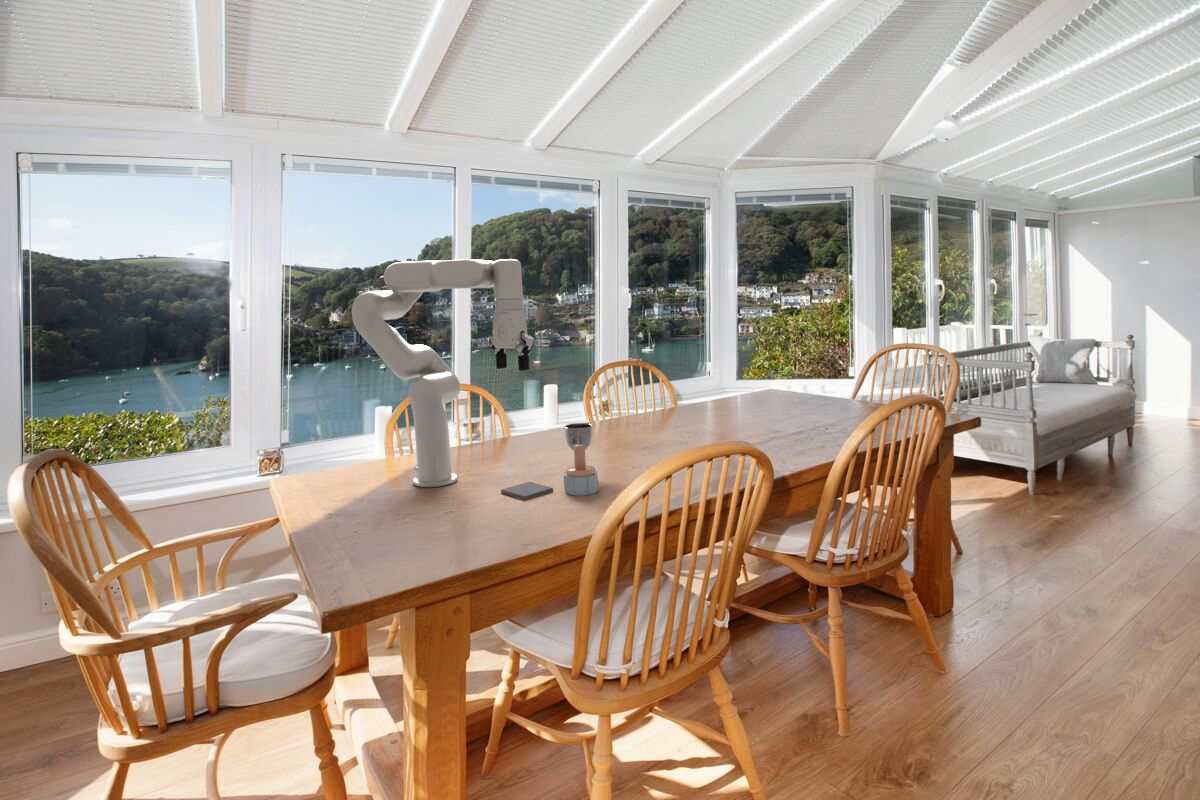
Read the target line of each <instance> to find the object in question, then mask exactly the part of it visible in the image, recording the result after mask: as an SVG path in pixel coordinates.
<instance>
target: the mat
mask: <svg viewBox="0 0 1200 800" xmlns="http://www.w3.org/2000/svg"><path fill="white" fill-rule="evenodd" d="M500 492H501V494H504V495H506V496H510V497H514V498H515V499H519V500H522V501H526V500H529V499H533V498H537V497H539V496H543V495H546V494H549V493H552V492H554V488H553V487H552V486H551V487H550V486H549V485H543V484H540V483H535V482H533V481H532V482H531V481H527V482H524V483H520V484H516V485H513V486H509V487H506V488H503V489H501V490H500Z"/></svg>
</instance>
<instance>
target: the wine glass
mask: <svg viewBox="0 0 1200 800" xmlns="http://www.w3.org/2000/svg"><path fill="white" fill-rule="evenodd" d="M564 435H565V440H566V443H567V446H568V447H569V449H570V450H571V451H572V452H574V445H577V444H583V445H585V451H586V450H587V449H589V446H590V445H591V442H592V437H593V426H592V424H590V423H586V422H584V423H583V422H575V423H569V424H566V425H564Z"/></svg>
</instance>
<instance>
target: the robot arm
mask: <svg viewBox="0 0 1200 800" xmlns="http://www.w3.org/2000/svg"><path fill="white" fill-rule="evenodd" d="M383 280H384V283H385V285H386V286H387V288H388V289H389V290H371V291H369V290H368V291H367V292H362V293H361V294H359V295H357V296H356V298H354V301H353V303H352V305H351V318H352V323H353V324H354V327H355V330H356V331H357V332H358V334H359V335H360V336H361V338H363V339H364V340H365V342H367V344H368V345H370V347H371V348H372V349H373V351H375V352H376V354H377V356H378V357H379V358H380V359H381V360H382V361H383V363H384V364H385V365H386V366H387V367H388V369H389V370H391V372H392V373H393V374H394V375H395V376H396V377H397V378H398V379H401V380H411V379H413V381H412V382H411V383H410V385H409V388H408V400H409V403H410V407H411V411H412V417H413V424H414V425H413V427H414V437H415V438H414V439H415V448H416V449H415V450H416V461H417V466H414V471H415V472H417V476H416V477H414V478H413V480H412V481H413V485H415V486H416V487H421V488H435V487H443V486H448V485H451V484H453V483H455V482H457V481H458V475H457V474H455V473H453V472H452V461H451V448H450V447H451V444H450V431H449V430H450V429H449V420H448V415H447V413H446V410H445V407H444V405H445V404H448V403H450V402H452V401H455V400H456V399H457V398H458V397H459V395H460V392H461V383H460V381H459V378H458V377H457V375H456V374H455V373H454V372H453V371H452V369H451V367H449V366H448V365H447V363H446V362H445V361H444V360H443V359H442V357H441V356H440V355H439V354H438V352H436V350H434V349H433V348H432V347H430V346H427V345H424V344H409V343H408V342H407V341H406V340H405V339H404V338H403V336H402V335H401V334H400V333H399V332H398V330H397V329H395V328H394V326H393V327H392V326H391V325H390V324H388V323H387V322H386V321H388V320H389V321H391V320H398V319H400V318H402V317H403V316H405V315H406V314H407V313H408V312H409V311H410V309H411V308H412V307H413V305H415V303H417V301H418V300H419V299H420V298H421V296H422V295H423V293H428V292H429V293H430V292H441V291H442V290H451V289H456V290H457V289H491V288H493V289H494V290H493V292H494V305H495V306H494V307H495V308H494V309H495V311H494V312H493V318H492V320H493V321H492V336H491V337H490V339H489V340H490V342H491V345H492V346H491V347H492V349H493V350H494V351H493V352H494V355H495V363H496V369H498V370H500V369H506V368H508V363H507V362H508V361H507V353H505V352H506V351H507V350H509V349H510V350H512V349H516V351H517V353H518V354H519V355H517V360H518V361H517V363H518V365H517V367H518V371H521V372H522V371H528V370H530V359H529V358H530V357H529V356H530V354H531V351H532V349H533V343H534V339H533V337H531V336H530V335H529V334H528V326H527V319H526V315H525V311H524V293H523V291H524V290H523V276H522V263H521V262H520V260H518V259H513V258H508V259H507V258H506V259H504V258H503V259H497V260H495V261H493V260H485V259H470V258H469V259H448V260H434V259H433V260H421V261H420V260H417V261H416V260H415V261H401V262H400V261H399V262H394V263H392V264H390V265H388V266H387V267H386V268H385V270H384V273H383Z"/></svg>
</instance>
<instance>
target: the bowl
mask: <svg viewBox="0 0 1200 800" xmlns="http://www.w3.org/2000/svg"><path fill="white" fill-rule="evenodd" d="M598 479H599V477H598V471H597V470H595V474H594V475H591V476H587V477H570V476H567V475H566V471H564V473H563V482H564V485H563V487H564V493H565V494H566V495H568V496H572V497H584V496H585V497H586V496H592V495H594V494H597V493H598V492H599V484H598V483H599V482H598V481H599V480H598Z"/></svg>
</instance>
